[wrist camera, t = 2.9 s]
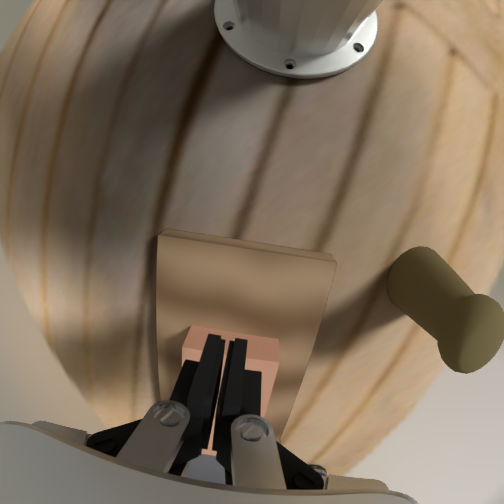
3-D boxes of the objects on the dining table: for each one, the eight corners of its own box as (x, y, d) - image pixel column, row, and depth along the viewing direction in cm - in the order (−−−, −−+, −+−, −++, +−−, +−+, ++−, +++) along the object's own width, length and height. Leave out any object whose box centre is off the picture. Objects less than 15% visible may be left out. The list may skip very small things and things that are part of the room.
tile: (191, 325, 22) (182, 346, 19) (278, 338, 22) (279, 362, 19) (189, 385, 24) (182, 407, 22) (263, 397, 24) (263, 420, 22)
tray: (165, 413, 29) (158, 431, 26) (280, 431, 29) (280, 451, 26) (172, 474, 34) (168, 488, 31) (256, 487, 34) (255, 502, 31)
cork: (384, 314, 24) (436, 398, 13) (388, 249, 22) (463, 315, 11) (438, 304, 23) (501, 372, 13) (446, 243, 21) (528, 295, 11)
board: (166, 228, 22) (158, 235, 20) (331, 254, 22) (337, 262, 20) (167, 413, 29) (163, 425, 27) (277, 431, 29) (277, 444, 27)
